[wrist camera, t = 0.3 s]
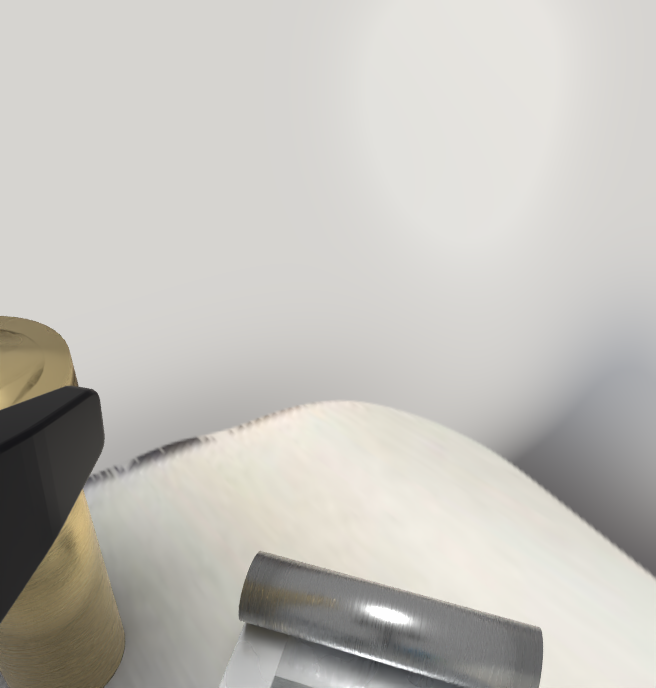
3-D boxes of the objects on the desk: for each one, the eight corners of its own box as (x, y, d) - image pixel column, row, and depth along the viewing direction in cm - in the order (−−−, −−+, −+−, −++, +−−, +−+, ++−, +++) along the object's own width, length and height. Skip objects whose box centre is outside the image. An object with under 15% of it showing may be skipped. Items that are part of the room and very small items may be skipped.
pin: (90, 753, 20) (-32, 481, 12) (-46, 703, 21) (-238, 424, 13) (167, 608, 24) (111, 337, 16) (50, 573, 25) (-55, 301, 17)
